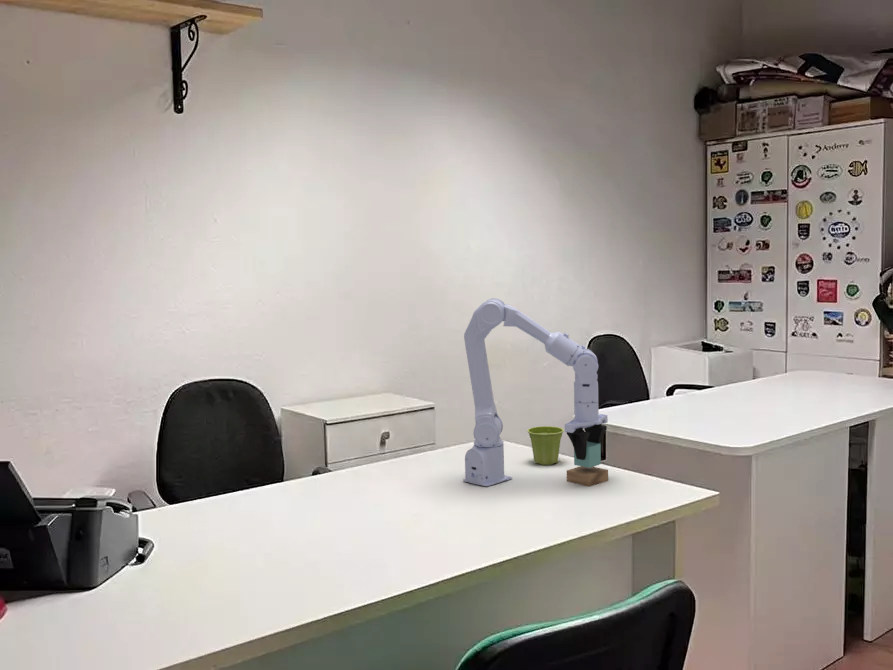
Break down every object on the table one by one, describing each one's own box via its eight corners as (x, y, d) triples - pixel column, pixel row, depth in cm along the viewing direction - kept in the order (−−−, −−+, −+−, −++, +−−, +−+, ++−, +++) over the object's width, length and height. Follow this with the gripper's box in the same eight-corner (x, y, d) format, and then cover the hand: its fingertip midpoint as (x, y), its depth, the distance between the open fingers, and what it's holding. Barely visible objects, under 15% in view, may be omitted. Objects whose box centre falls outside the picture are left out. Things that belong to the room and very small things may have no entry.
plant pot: (566, 466, 230) (565, 433, 229) (529, 467, 230) (528, 434, 229) (562, 457, 239) (561, 425, 238) (526, 458, 239) (526, 426, 238)
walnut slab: (589, 487, 211) (589, 475, 210) (566, 482, 216) (566, 470, 216) (608, 482, 215) (608, 469, 215) (585, 476, 220) (585, 465, 220)
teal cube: (589, 467, 212) (589, 447, 211) (574, 464, 215) (573, 444, 215) (600, 464, 215) (600, 443, 215) (585, 461, 218) (585, 441, 218)
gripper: (581, 407, 206) (582, 465, 207) (617, 398, 216) (618, 453, 217) (557, 404, 211) (558, 461, 212) (593, 395, 221) (594, 449, 222)
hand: (587, 457), depth 215 cm, fingers closed on teal cube, 4 cm apart
